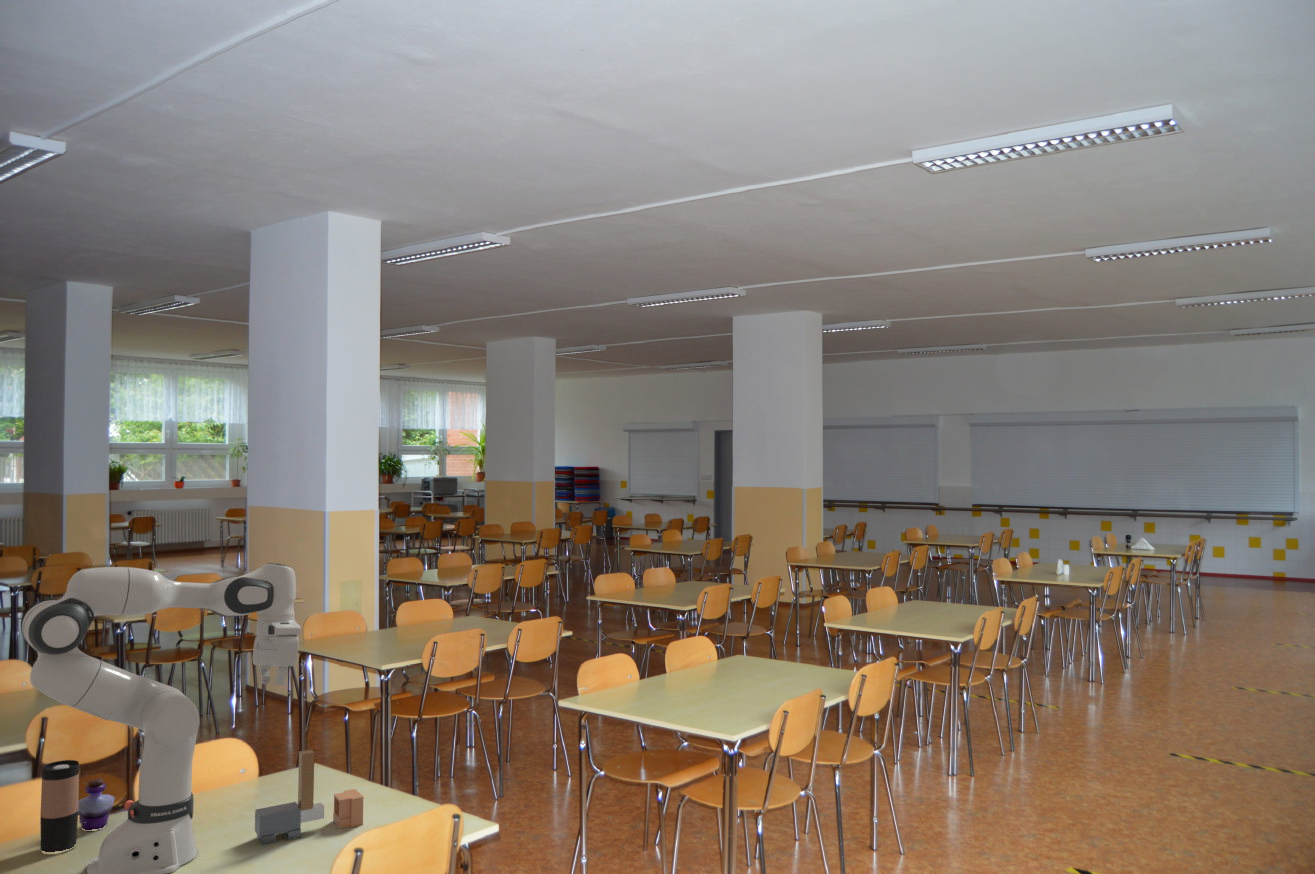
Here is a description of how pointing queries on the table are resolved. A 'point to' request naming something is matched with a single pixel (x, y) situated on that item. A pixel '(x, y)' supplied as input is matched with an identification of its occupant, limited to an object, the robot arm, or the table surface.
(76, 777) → the travel mug
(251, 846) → the table surface
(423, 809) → the table surface
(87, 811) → the potion bottle
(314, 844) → the table surface
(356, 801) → the socket block
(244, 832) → the table surface
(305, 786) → the upright mallet
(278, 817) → the sleeve
